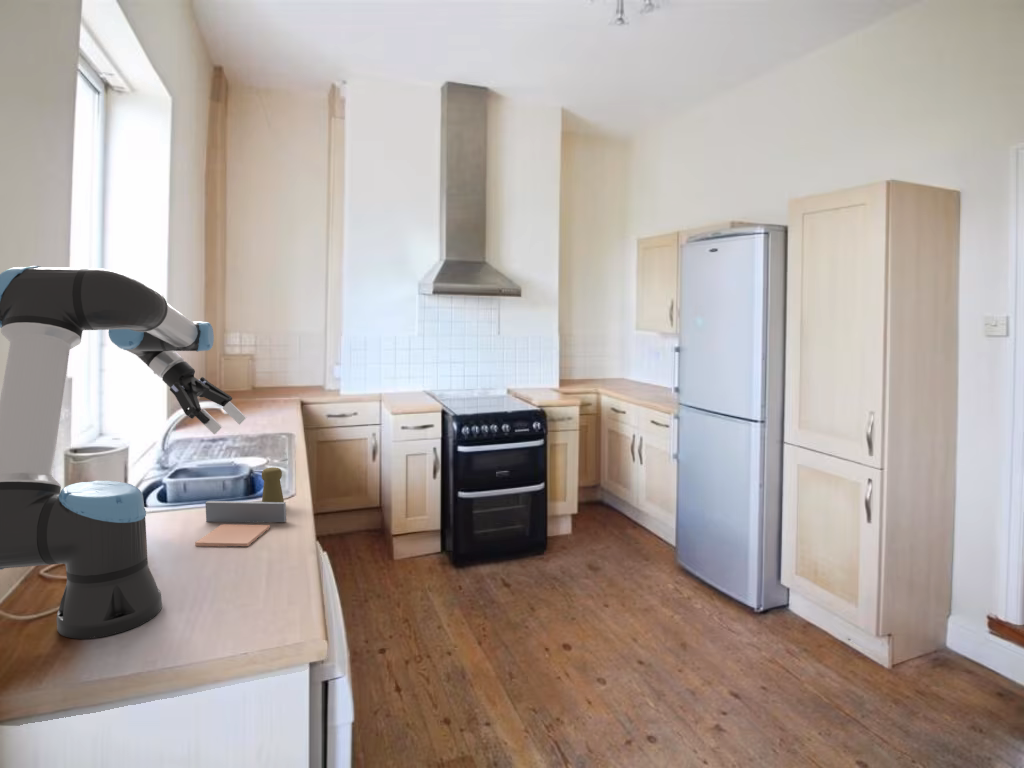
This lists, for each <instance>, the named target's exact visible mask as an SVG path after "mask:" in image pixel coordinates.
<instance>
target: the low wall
mask: <svg viewBox="0 0 1024 768" xmlns="http://www.w3.org/2000/svg"><path fill="white" fill-rule="evenodd" d="M204 503H205V504H204V505H205V520H206V521H205V522H206V523H207V522H209V523H216V522H217V523H257V522H285V521H286V522H287V513H286V512H287V509H286V508H287V507H286V506H287V503H286V501H284V502H262V501H228V500H227V501H226V500H225V501H223V500H221V501H220V500H218V501H217V500H215V501H214V500H208V501H206V502H204ZM286 522H285V523H286Z"/></svg>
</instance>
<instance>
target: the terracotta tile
mask: <svg viewBox="0 0 1024 768" xmlns="http://www.w3.org/2000/svg"><path fill="white" fill-rule="evenodd" d="M269 528H271V525H270V524H228V523H227V524H226V523H225V524H224V523H221V524H219V526H217V527H216V528H214V529H213V530H212V531H210V532H209V533H207V534H206V535H204V536H203V537H201V538H200V539H198V540H197V541H195V543H194V544H195V545H194V546H195V547H227V546H248V547H250V545H252V544H253V543H254V542H255V541H257V540H258V539H259V538H260V537H261V536H262V535H264V534H265V533H266V532H267V531H269V530H270V529H269ZM266 530H267V531H266ZM265 531H266V532H265ZM264 532H265V533H264ZM263 533H264V534H263ZM261 534H262V535H261ZM260 535H261V536H260ZM259 536H260V537H259ZM258 537H259V538H258ZM257 538H258V539H257ZM253 541H254V542H253ZM252 542H253V543H252ZM251 543H252V544H251Z"/></svg>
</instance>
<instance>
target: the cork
mask: <svg viewBox="0 0 1024 768" xmlns="http://www.w3.org/2000/svg"><path fill="white" fill-rule="evenodd" d="M282 476H283V471H282V470H281V468H279V467H276V466H272V467H267V468H264V469H262V471H261V479H262V481H263V486H262V487H263V488H262V497H261V498H262V499H261V502H285V501H284V496H283V495H284V494H283V489H282V484H281V483H282V482H281V479H282Z"/></svg>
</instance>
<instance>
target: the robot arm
mask: <svg viewBox="0 0 1024 768" xmlns="http://www.w3.org/2000/svg"><path fill="white" fill-rule="evenodd" d="M0 328H1V329H0V333H1V335H2V336H3V337H4V338H6V339H7V340H8V341H9V346H8V347H9V348H8V352H7V359H6V365H5V370H4V376H3V382H2V388H1V393H0V571H2V570H4V569H12V568H13V569H14V568H25V567H36V566H51V565H65V574H66V585H65V587H64V591H63V594H62V598H61V601H60V604H59V608H58V610H57V614H56V630H57V632H58V634H60V635H61V636H63V637H66V638H69V639H75V640H76V639H77V640H79V639H80V640H81V639H84V640H85V639H87V640H88V639H94V638H95V639H97V638H102V637H108V636H113V635H117V634H121V633H122V632H126V631H129V630H132V629H134V628H136V627H139V626H141V625H143V624H144V623H146V622H148V621H150V620H151V619H153V618H154V617H155V616H157V614H159V613H160V611H161V610H162V606H163V604H162V602H163V600H162V591H161V590H160V589H159V587H158V585H157V582H156V580H155V578H154V576H153V574H152V572H151V570H150V568H149V562H148V561H149V560H148V544H147V541H148V539H147V528H146V527H147V525H146V524H147V523H146V516H147V510H146V508H145V503H144V495H143V493H142V491H141V490H140V488H138V487H137V486H135V485H133V484H131V483H127V482H122V481H116V480H91V481H80V482H75V483H72V484H68V485H66V486H64V487H63V488H62V485H61V483H60V482H58V481H57V480H56V479H55V478H54V477H53V468H54V461H55V455H56V450H57V449H56V448H57V441H58V434H59V426H60V420H61V412H62V406H63V399H64V391H65V385H66V384H65V383H66V378H67V371H68V365H69V364H68V363H69V356H70V351H71V349H73V348H75V347H78V345H80V344H81V342H82V337H83V336H82V335H83V331H107V330H108V338H109V339H110V341H111V342H112V343H113V344H114V345H115V346H116V347H117V348H118V349H121V350H124V351H127V352H129V353H131V354H133V355H135V356H136V357H137V358H138V359H140V360H141V361H142V362H143V363H144V364H145V365H146V366H147V367H148V368H149V369H150V370H151V371H152V372H153V374H154V375H157V377H159V378H160V379H162V381H163V383H164V384H165V385H166V386H168V387H169V391H170V392H171V393H172V394H173V395H174V397H175V398H176V400H177V402H178V403H179V406H180V407H181V409H182V410H183V413H184V414H185V415H186V416H187V417H189V418H190V419H194V418H196V419H197V420H199V422H200V423H202V425H204V427H206V428H207V429H208V430H209V431H210V433H212V434H213V435H216V434H217V433H219V431H220V430H221V429H222V428H223V426H222V424H221V423H220V422H218V420H216V419H215V417H214V416H212V415H211V414H210V413H209V412H208V411H207V410H206V409H205V408H203V409H202V408H201V404H200V401H199V398H205V399H207V400H209V401H212V402H213V403H215V404H217V405H219V406H221V407H222V410H224V411H225V413H226V414H227V415H229V417H231V418H232V419H233V420H234V421H235V422H236V423H237V424H238V425H241V424H242V423H243V422H244V421H245V420H246V419H247V418H248V417H247V416H246V414H243V412H241V410H240V409H239V408H238V407H237V406H235V404H234V403H233V402H231V401H232V400H233V397H232V396H231V395H230V394H228V393H226V392H224V391H223V390H222V389H220V388H219V387H217V386H216V385H214V384H212V383H211V382H209V381H208V380H207V379H206V378H205V377H203V376H201V377H200V378H199V379H198V378H196V377H195V373H196V370H195V369H194V367H192V365H190V364H189V362H188V361H184V360H185V359H184V358H183V357H182V356H181V354H179V353H178V352H206V351H210V350H211V349H212V348H213V346H214V341H215V338H214V337H215V336H214V328H213V326H212V324H211V323H210V322H209V321H200V320H198V321H193V320H191V319H190V318H188V317H187V316H185V315H184V314H183V313H181V312H180V311H178V310H177V309H175V308H174V307H173V306H171V304H169V303H168V302H167V299H166V297H165V296H164V295H163V294H162V293H161V292H160V291H159V290H158V289H156V288H154V287H153V286H151V285H150V284H148V283H146V282H144V281H142V280H140V279H138V278H136V277H133V276H131V275H127V274H125V273H122V272H120V271H119V272H118V271H115V270H111V269H106V268H97V267H96V268H95V267H91V268H87V267H85V268H84V267H50V266H49V267H48V266H47V267H45V266H44V267H43V266H39V265H30V266H24V267H23V266H20V267H19V266H17V267H15V266H14V267H11V268H9V269H5V270H4V271H2V272H1V273H0ZM198 397H199V398H198Z"/></svg>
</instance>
